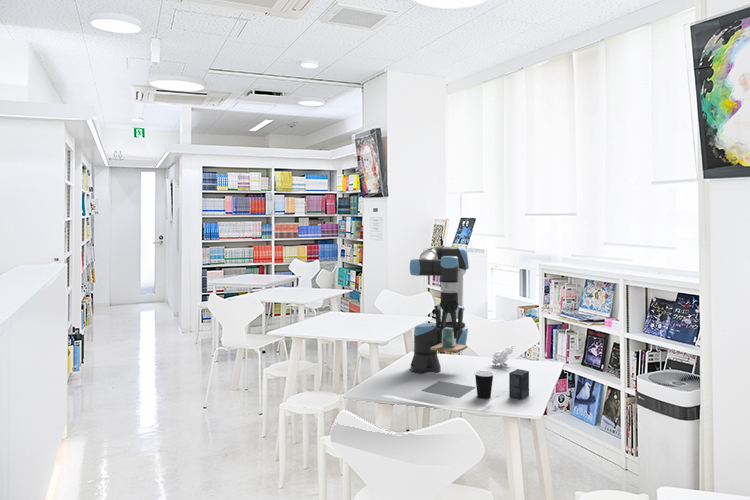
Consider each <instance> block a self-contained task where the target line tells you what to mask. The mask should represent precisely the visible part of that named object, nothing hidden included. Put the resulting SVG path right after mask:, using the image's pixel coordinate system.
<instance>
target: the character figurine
mask: <svg viewBox="0 0 750 500" xmlns="http://www.w3.org/2000/svg"><path fill="white" fill-rule="evenodd" d="M515 347H516V346H515V345H513V346H508V345H507V346H506V347H505V348H504V349H502V350H497V351H495V352H494V353H493V355H492V360H491V362H492V363H493V365H494V366H497V365H498V364H500V365H501V366H502V367H503V368H506V369H509V366H508V365H505V363H506V362H507V361H508V360H509V357H508V355H511V354H512V353H514V349H516V348H515Z"/></svg>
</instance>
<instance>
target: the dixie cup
mask: <svg viewBox="0 0 750 500" xmlns="http://www.w3.org/2000/svg"><path fill="white" fill-rule="evenodd" d="M494 375H495V374H494V372H492V371H489V370H477V371H474V376H475V387H476V395H477V398H479V399H482V400H487V399H490V398H491V395H492V389H493V388H492V387H493V380H494Z"/></svg>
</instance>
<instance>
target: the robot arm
mask: <svg viewBox="0 0 750 500" xmlns="http://www.w3.org/2000/svg"><path fill="white" fill-rule="evenodd" d="M469 266H470V265H469V259H468V251H467V248H466V247H465V246H464V247H463V246H434V247H430V248H427V249H426V250H424V251H422V252H421V253H420V256H419V258H416V259H415V258H414V259H413V258H412V259H411V260H410V263H409V273H410V275H411V276H415V277H419V276H420V277H421V276H422V277H423V276H424V277H425V276H427V277H431V276H432V277H434V276H435V277H440V291H441V292H440V301H439V304H435V305H434V306H433V307H434V310H435V322H426V323H421V324H417V325H415V327H414V331H413V346H414V347H413V356H412V358H411V359H412V360H411V362H410V371H412V372H414V373H417V374H425V373H439V372H441V362H440V360H439V357H438V351H436V350H430V347H433V346H435V345H438V344H440V343H442V345H443V328H446V327H450V328H453V331H452V346H456V344H458V345H466V346H467V341H468V333H469V328H468V327H467V326H466V323H465V322H464V321H463V319H464V311H465V307H464V306H463V301H464V300H463V299H464V297H463V292H464V291H463V288H464V275H465V274H467V273H466V272H467V270H469V269H470V267H469ZM441 309H442V312H441ZM441 313H442V314H441ZM463 351H464V350H462V351H461V352H463Z"/></svg>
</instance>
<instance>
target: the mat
mask: <svg viewBox="0 0 750 500" xmlns="http://www.w3.org/2000/svg"><path fill="white" fill-rule="evenodd" d="M474 389H477V387H476V386H472V385H466V384H459V383H455V382H453V383H452V382H447V381H442V380H438V381H436V382H435V383H434V382H433V384H431V385H429V386H427V387H426V388H423V389H420V391H421V392H424V393H430V394H434V395H435V394H436V395H441V396H446V397H452V398H457V399H460V398H462V397H463V396H465V395H466V394H468V393H470V392H471V391H473V390H474Z"/></svg>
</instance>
